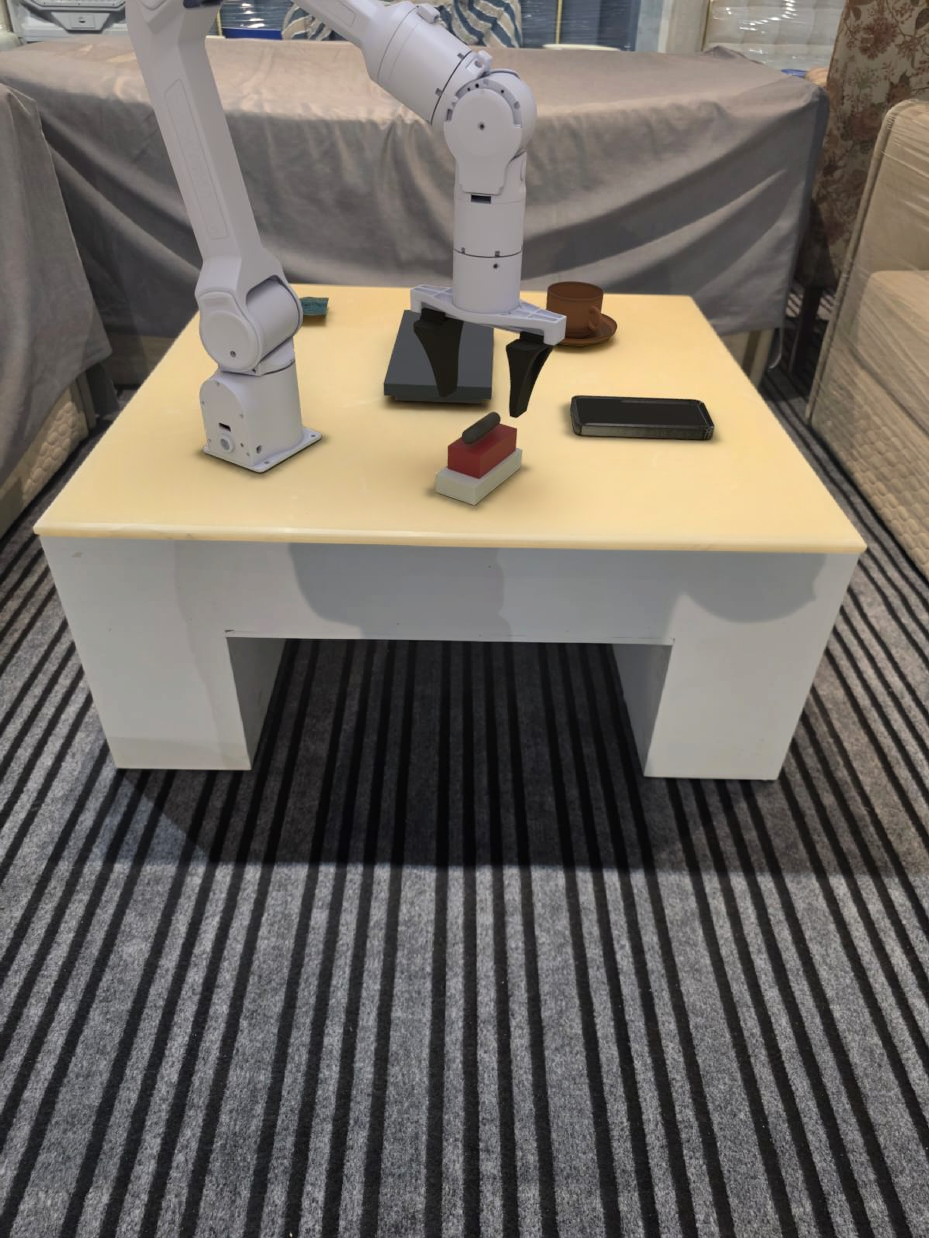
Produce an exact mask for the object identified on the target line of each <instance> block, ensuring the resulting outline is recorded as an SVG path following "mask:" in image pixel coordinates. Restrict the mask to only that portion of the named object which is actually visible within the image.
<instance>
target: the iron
mask: <svg viewBox="0 0 929 1238" xmlns="http://www.w3.org/2000/svg"><path fill="white" fill-rule="evenodd" d="M501 421H502V417H501V415H500V414H499V413H498V412H496V411H491V412H489V413H487V414H486V415H484V416H483V417H481V418H480V419H479V420H477V421H476V422H474V423H472V425H470V426H469V427H467V428H466V429H464V430H463V431H462V433H461V436H460V437H458V438H457V439H456V440H454V441H452V442H451V443H450V444H448V446H447V465H445V466H444V467H443V468H441V469H440V470H439V471H437V472H436V473H435V493H437V494H440V495H443V496H446V497H449V498H452V499H455V500H458V501H460V502H463V503H466V504H469V505H472V506H475V505H477V504H478V503H479V502H481V501H482V500H483V499H484V498H485V497H487V496H488V495H489V494H490V493H492V492H493V491H494V490H495V489H496V488H497V487H499V486H500V485H501V484H503V482H505V481H506V480H507V479H509V478H510V477H511V476H512V475H514V474H515V473H516V472H517V471H518V470H520V469H521V468H522V460H523V459H522V458H523V449H522V448H518V447H517V440H518V439H517V437H518V428H517V427H514V426H510V425H506V424H503V423H501Z"/></svg>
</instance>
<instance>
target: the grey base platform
mask: <svg viewBox="0 0 929 1238" xmlns="http://www.w3.org/2000/svg"><path fill="white" fill-rule="evenodd" d="M402 312H403V313H402V316H401V320H400V323H399V327H398V329H397V333H396V338H395V341H394V344H393V348H392V351H391V356H390V359H389V362H388V365H387V366H388V367H387V369H386V373H385V377H384V380H383V396H386V397H394V399H395V401H401V402H402V401H405V402H407V401H408V402H428V403H429V402H430V403H454V404H455V403H456V404H480V405H482V404H483V401H484V400H487V401H489V400H491V401H492V399H493V398H492V396H493V375H494V374H493V373H494V372H493V371H494V370H493V369H494V341H495V340H494V339H495V328H492V327H488V326H484V325H480V324H475V323H471V322H467V321H464V324H463V328H462V333H461V339H460V346H459V356H458V383H457V389H456V391H455V392H453V393H452V394H450V395H448V396H447V397H445V398H444V397H440V396H439V393H438V389H437V385H436V381H435V377H434V374H433V370H432V367H431V364H430V361H429V359H428V356H427V354H426V352H425V350H424V348H423V346H422V344H421V342H420V340H419V339H418V337H417V336H416V334H415V333H414V329H413V323H414V322H415V321H417V320H419V319H420V316H421V313H417V312H412V311H411V309H404V310H403V311H402Z"/></svg>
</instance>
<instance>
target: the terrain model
mask: <svg viewBox="0 0 929 1238" xmlns="http://www.w3.org/2000/svg"><path fill="white" fill-rule="evenodd" d="M298 298H299V300H300V302H301V306H302V310H303V317H305V316H323V317H326V316H327V309H328V305H329V300H330V299H329V298H330V297H325V296H323V297H318V296H317V297H315V296H302V297H298Z"/></svg>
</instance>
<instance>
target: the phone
mask: <svg viewBox="0 0 929 1238" xmlns="http://www.w3.org/2000/svg"><path fill="white" fill-rule="evenodd" d="M569 409H570V414H571V415H570V416H571V422H572V427H573V431H574V432H575V433H576V434H578V435H581V436H597V437H599V436H601V437H623V438H624V437H628V438H629V437H630V438H653V439H654V438H656V439H679V440H680V439H683V440H684V439H685V440H709V439H712V438H713V436H714V431H715V423H714V421H713V419H712V417H711V414H710V412H709V410H708V408H707V405H706V403H704V402H703V401H702V400H699V399H695V398H673V397H645V396H644V397H643V396H642V397H641V396H616V395H615V396H614V395H588V394H587V395H586V394H576V395H574V396H571V400H570V408H569Z"/></svg>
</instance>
